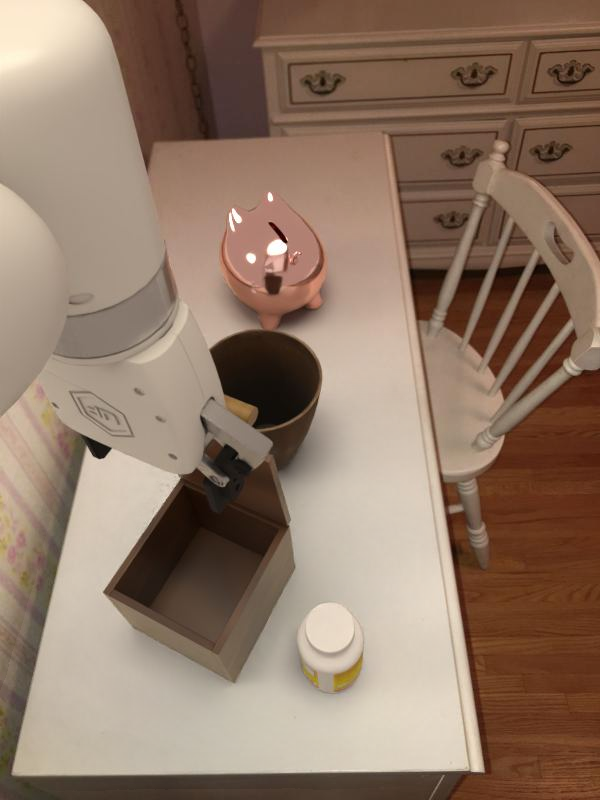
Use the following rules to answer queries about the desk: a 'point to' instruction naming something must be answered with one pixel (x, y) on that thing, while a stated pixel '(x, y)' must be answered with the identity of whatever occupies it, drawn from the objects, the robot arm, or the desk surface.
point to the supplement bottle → (331, 647)
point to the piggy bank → (272, 259)
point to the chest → (204, 579)
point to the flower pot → (272, 384)
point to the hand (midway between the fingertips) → (167, 467)
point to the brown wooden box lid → (251, 474)
